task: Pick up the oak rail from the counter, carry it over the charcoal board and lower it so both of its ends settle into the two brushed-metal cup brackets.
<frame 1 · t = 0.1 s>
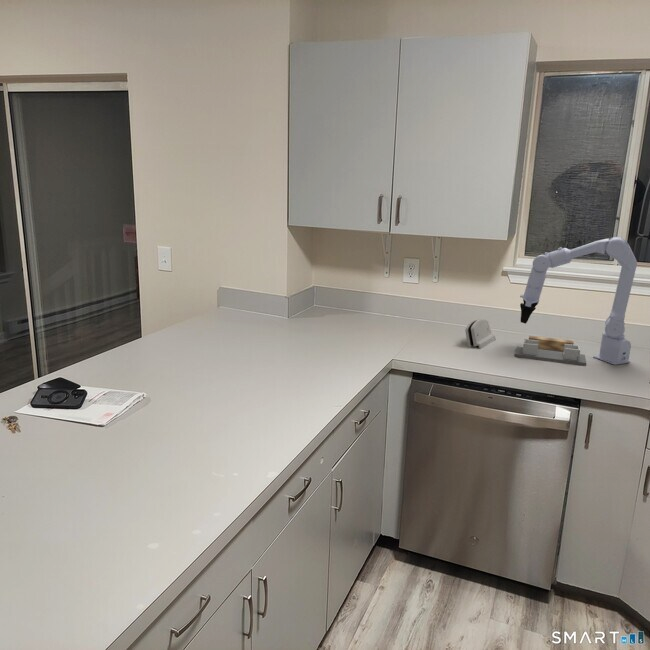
hand: (524, 320, 224), 10 cm above the worktop, tool pointing down, fingers open, 7 cm apart
rail: (549, 349, 225), on the worktop
grey stand: (478, 343, 231), on the worktop
bracket board: (549, 357, 215), on the worktop
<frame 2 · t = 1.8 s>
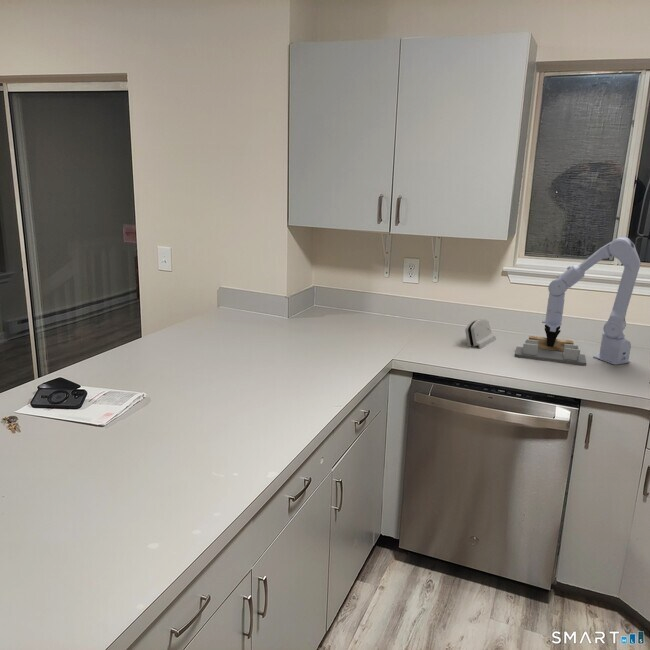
hand: (550, 345, 224), 1 cm above the worktop, tool pointing down, fingers closed on rail, 3 cm apart
rail: (549, 349, 225), on the worktop, touching gripper
everything else where it was.
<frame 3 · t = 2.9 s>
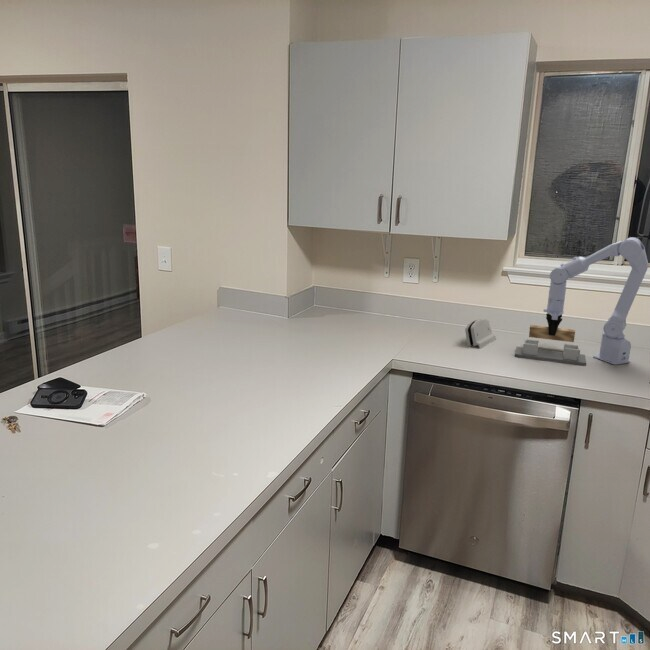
hand: (551, 333, 223), 6 cm above the worktop, tool pointing down, fingers closed on rail, 3 cm apart
rail: (550, 338, 224), point 4 cm above the worktop, touching gripper
everything else where it was.
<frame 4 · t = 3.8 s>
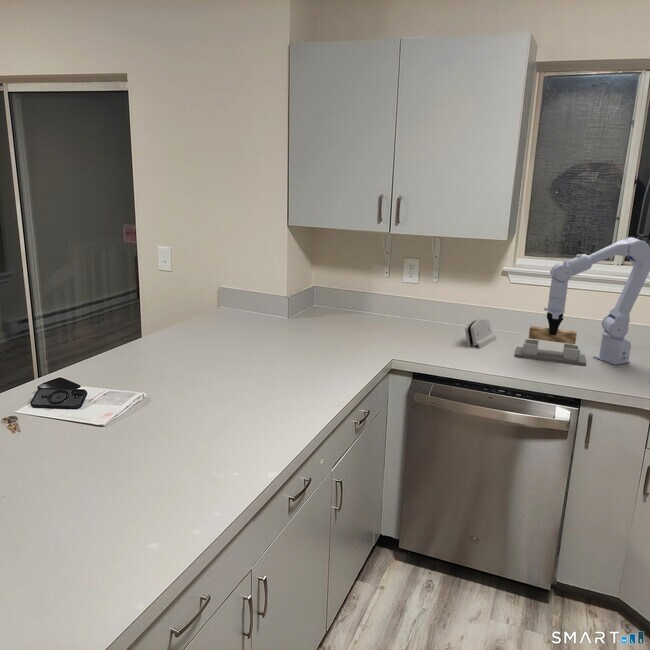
hand: (552, 333, 214), 8 cm above the worktop, tool pointing down, fingers closed on rail, 3 cm apart
rail: (551, 340, 215), point 6 cm above the worktop, touching gripper
everything else where it was.
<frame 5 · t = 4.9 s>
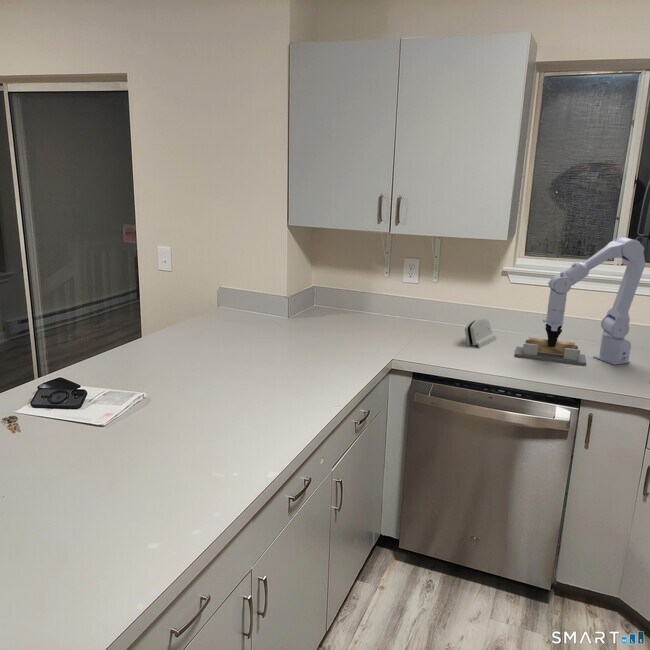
hand: (551, 345, 214), 5 cm above the worktop, tool pointing down, fingers closed on rail, 3 cm apart
rail: (550, 351, 214), point 2 cm above the worktop, touching bracket board, gripper
everything else where it was.
when the fingers open (4 cm above the worktop, at t = 5.2 s): rail stays where it is, resting on bracket board.
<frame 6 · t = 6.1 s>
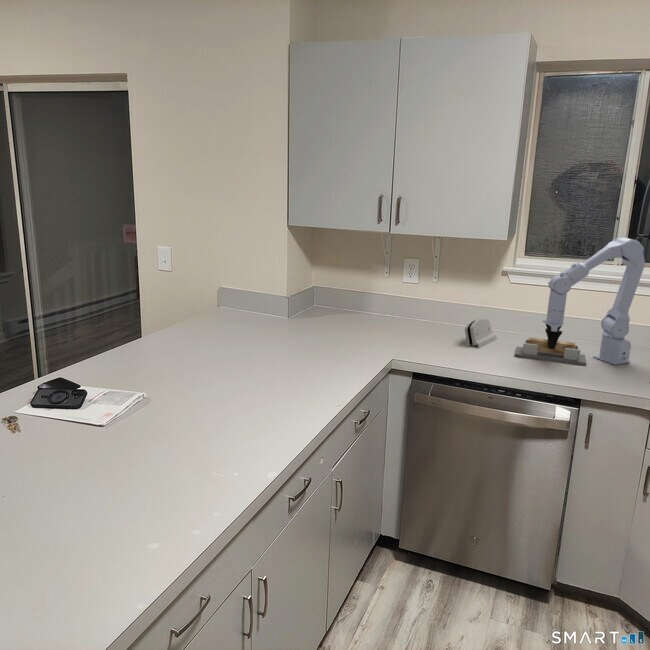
hand: (551, 345, 214), 4 cm above the worktop, tool pointing down, fingers open, 7 cm apart
rail: (550, 351, 214), point 2 cm above the worktop, touching bracket board
everything else where it was.
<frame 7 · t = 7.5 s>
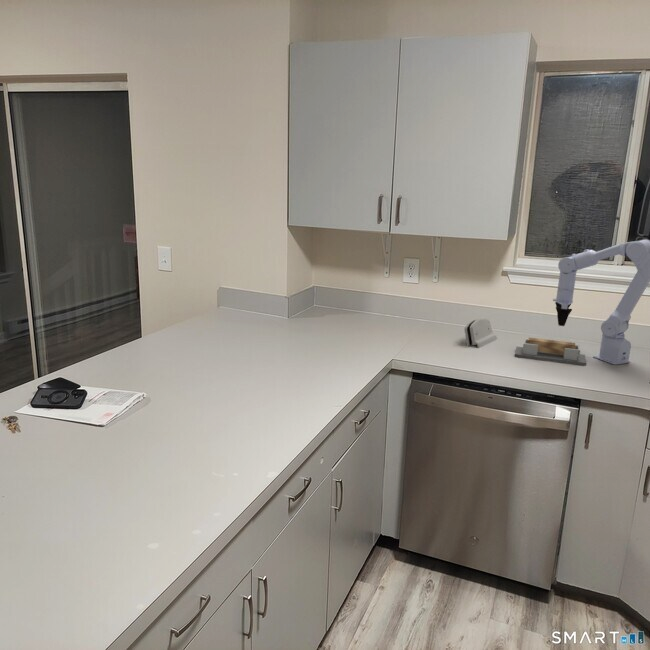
hand: (561, 323, 225), 9 cm above the worktop, tool pointing down, fingers open, 7 cm apart
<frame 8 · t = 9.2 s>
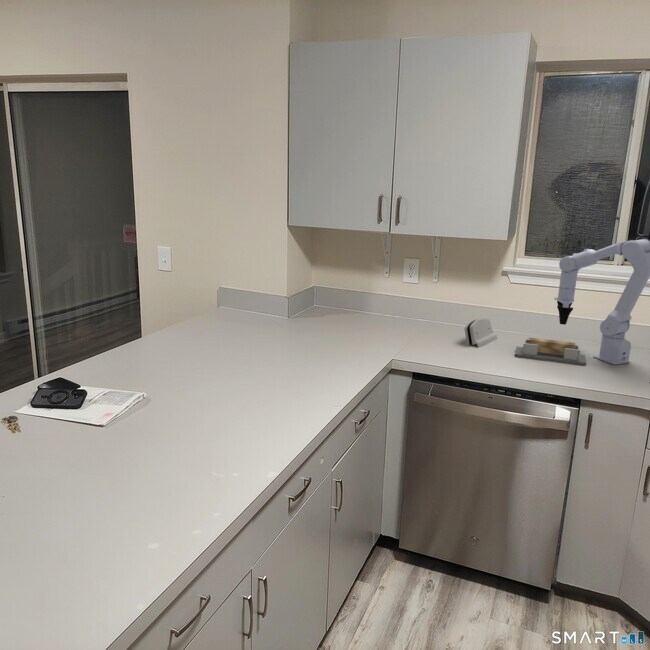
hand: (562, 321, 227), 9 cm above the worktop, tool pointing down, fingers open, 7 cm apart
at the end: rail 0.1 cm off-centre on the bracket board, point 2.0 cm above the bracket board's base; rail tilted 0°; the gripper is holding nothing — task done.
